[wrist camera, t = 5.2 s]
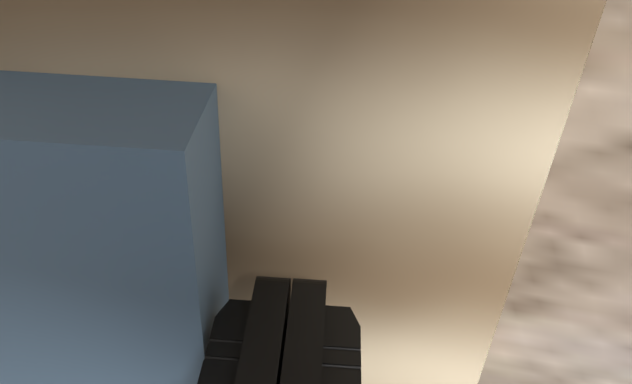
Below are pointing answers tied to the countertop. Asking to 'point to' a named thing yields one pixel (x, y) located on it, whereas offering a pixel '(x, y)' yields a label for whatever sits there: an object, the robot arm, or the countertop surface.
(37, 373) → the tile
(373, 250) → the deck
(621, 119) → the countertop surface
